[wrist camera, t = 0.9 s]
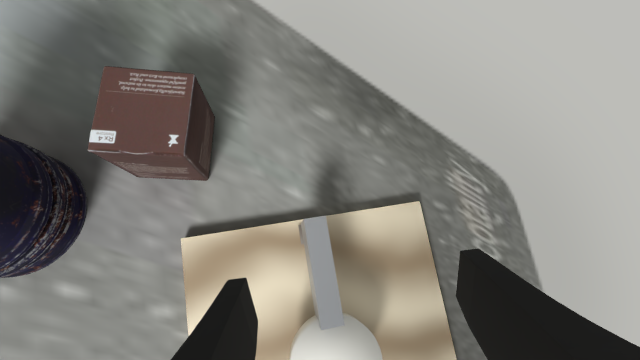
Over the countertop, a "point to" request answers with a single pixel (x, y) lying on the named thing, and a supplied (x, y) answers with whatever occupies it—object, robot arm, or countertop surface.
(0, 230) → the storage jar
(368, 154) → the countertop surface
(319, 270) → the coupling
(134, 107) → the box
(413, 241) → the post board
